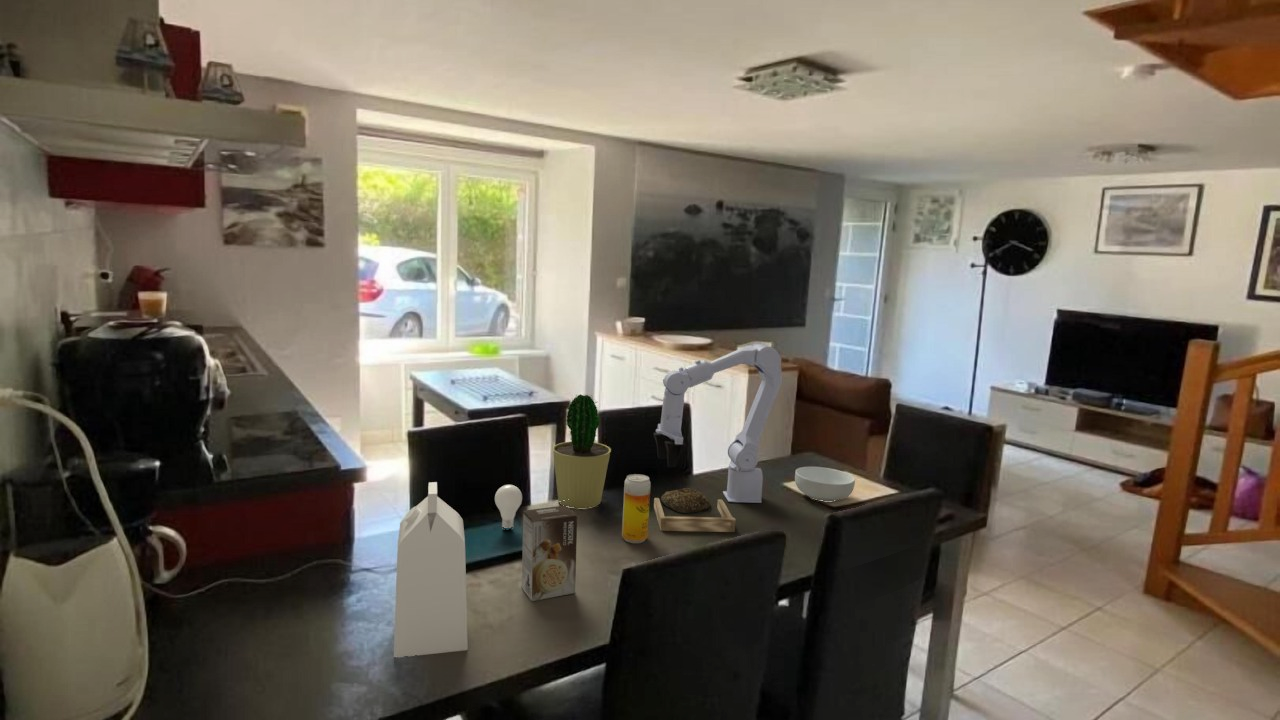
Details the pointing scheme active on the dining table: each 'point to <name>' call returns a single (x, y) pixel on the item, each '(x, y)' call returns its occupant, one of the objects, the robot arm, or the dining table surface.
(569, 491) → the potted cactus
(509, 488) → the lightbulb
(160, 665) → the dining table surface
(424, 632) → the milk
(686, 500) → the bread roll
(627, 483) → the beer can
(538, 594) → the coffee box
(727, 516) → the tray
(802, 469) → the cereal bowl
